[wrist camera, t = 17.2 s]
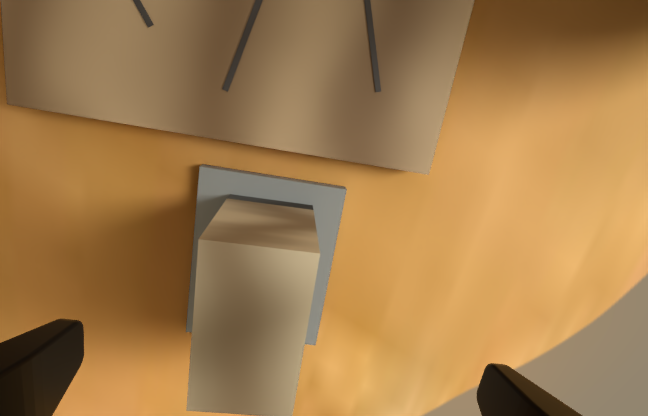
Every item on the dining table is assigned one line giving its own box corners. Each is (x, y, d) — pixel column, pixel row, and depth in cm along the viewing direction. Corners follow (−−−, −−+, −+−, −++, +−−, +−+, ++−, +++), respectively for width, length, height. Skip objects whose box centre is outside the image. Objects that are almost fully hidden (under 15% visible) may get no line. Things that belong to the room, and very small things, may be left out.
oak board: (476, -60, 15) (495, -76, 14) (418, 168, 18) (429, 175, 17) (21, -175, 13) (-14, -210, 12) (32, 103, 16) (5, 104, 15)
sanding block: (312, 205, 18) (320, 253, 12) (293, 327, 20) (291, 417, 14) (229, 193, 17) (198, 239, 12) (218, 320, 19) (186, 410, 14)
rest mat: (345, 186, 18) (346, 189, 18) (314, 338, 21) (315, 345, 20) (202, 164, 17) (199, 166, 17) (189, 324, 20) (185, 331, 19)
